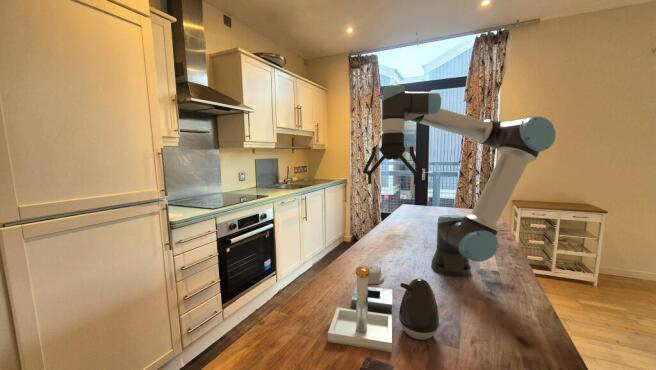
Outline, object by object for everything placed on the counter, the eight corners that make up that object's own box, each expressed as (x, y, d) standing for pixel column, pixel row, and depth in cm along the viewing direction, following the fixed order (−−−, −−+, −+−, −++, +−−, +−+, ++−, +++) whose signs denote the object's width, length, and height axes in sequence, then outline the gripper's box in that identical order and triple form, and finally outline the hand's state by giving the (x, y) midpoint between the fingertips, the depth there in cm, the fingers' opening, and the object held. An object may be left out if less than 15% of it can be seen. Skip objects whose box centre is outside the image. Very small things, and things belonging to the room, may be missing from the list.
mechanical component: (357, 283, 102) (384, 285, 100) (357, 272, 102) (384, 274, 100) (358, 272, 112) (383, 274, 110) (358, 262, 111) (383, 263, 110)
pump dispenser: (392, 322, 78) (394, 271, 76) (427, 320, 79) (429, 270, 77) (405, 347, 68) (407, 289, 66) (445, 345, 69) (448, 288, 67)
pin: (368, 326, 75) (370, 267, 73) (367, 335, 72) (369, 272, 70) (355, 324, 76) (356, 265, 74) (354, 332, 73) (355, 271, 71)
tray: (391, 322, 78) (391, 314, 78) (391, 352, 66) (391, 342, 66) (337, 315, 82) (337, 307, 81) (327, 341, 70) (327, 332, 70)
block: (391, 302, 89) (392, 289, 88) (391, 318, 80) (392, 304, 79) (355, 298, 91) (355, 285, 91) (351, 313, 83) (351, 299, 82)
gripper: (429, 132, 95) (427, 192, 97) (357, 134, 100) (357, 191, 102) (432, 130, 87) (430, 195, 90) (355, 132, 93) (355, 194, 95)
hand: (391, 193), depth 96 cm, fingers open, 13 cm apart
